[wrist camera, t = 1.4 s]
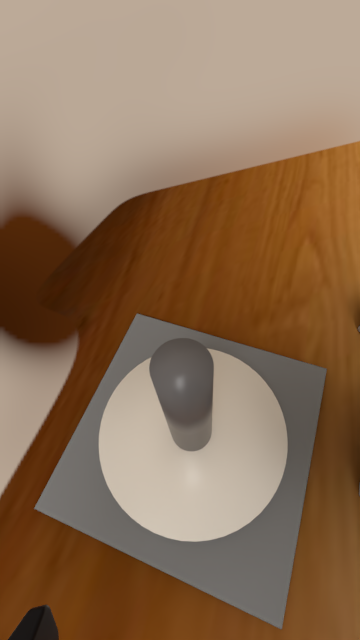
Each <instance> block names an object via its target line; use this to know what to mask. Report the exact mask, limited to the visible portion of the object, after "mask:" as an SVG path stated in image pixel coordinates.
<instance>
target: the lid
mask: <svg viewBox="0 0 360 640" xmlns="http://www.w3.org/2000/svg"><path fill="white" fill-rule="evenodd" d="M287 452H288V438H287V430H286V424H285V420H284V416H283V413H282V410H281V408H280V405H279V403H278V401H277V399H276V397H275V395H274V393H273V392H272V390H271V389H270V387H269V386H268V385H267V383H266V382H265V381H264V380H263V379H262V378H261V376H260V375H259V374H258V373H257V372H255V371H254V370H253V369H252V368H251V367H250V366H248V365H247V364H245V363H244V362H242V361H241V360H239V359H237V358H235V357H233V356H231V355H229V354H226V353H223V352H221V351H217V350H213V349H208V348H206V347H205V346H204V345H202V344H201V343H199V342H198V341H195V340H193V339H189V338H176V339H172V340H169V341H167V342H165V343H164V344H162V345H161V346H160V347H159V348H158V349H157V350H156V351H155V352H154V354H153V356H152V357H151V358H149V359H147V360H145V361H144V362H142V363H141V364H139V365H138V366H136V367H135V368H134V369H133V370H132V371H130V372H129V373H128V374H127V375H126V376H125V378H124V379H123V380H122V381H121V382H120V383H119V385H118V386H117V387H116V389H115V390H114V392H113V394H112V395H111V397H110V399H109V401H108V403H107V406H106V408H105V410H104V413H103V417H102V420H101V425H100V431H99V458H100V463H101V468H102V472H103V475H104V478H105V480H106V483H107V486H108V487H109V489H110V491H111V493H112V495H113V497H114V498H115V500H116V501H117V502H118V504H119V505H120V506H121V508H122V509H123V510H124V511H125V512H126V513H127V514H128V515H129V516H130V517H131V518H132V519H133V520H135V521H136V522H137V523H139V524H140V525H141V526H143V527H144V528H146V529H148V530H150V531H151V532H153V533H155V534H158V535H161V536H163V537H166V538H170V539H174V540H179V541H192V542H198V541H207V540H213V539H217V538H220V537H224V536H226V535H229V534H231V533H233V532H235V531H238V530H239V529H241V528H242V527H244V526H245V525H247V524H248V523H250V522H251V521H252V520H253V519H254V518H255V517H257V516H258V515H259V514H260V513H261V512H262V511H263V509H264V508H265V507H266V506H267V505H268V503H269V502H270V500H271V499H272V497H273V496H274V494H275V492H276V491H277V488H278V486H279V484H280V482H281V479H282V476H283V473H284V469H285V466H286V459H287Z"/></svg>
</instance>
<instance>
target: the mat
mask: <svg viewBox="0 0 360 640" xmlns="http://www.w3.org/2000/svg"><path fill="white" fill-rule="evenodd" d="M176 338H189V339H193V340H195V341H198V342H199V343H201V344H202V345H204V346H205V347H206V348H208V349H213V350H217V351H221V352H223V353H226V354H229V355H231V356H233V357H235V358H237V359H239V360H241V361H242V362H244V363H245V364H247V365H248V366H250V367H251V368H252V369H253V370H254V371H255V372H257V373H258V374H259V375H260V376H261V378H262V379H263V380H264V381H265V382H266V383H267V385H268V386H269V387H270V389H271V390H272V392H273V393H274V395H275V397H276V399H277V401H278V403H279V405H280V408H281V410H282V413H283V416H284V420H285V424H286V430H287V438H288V452H287V459H286V466H285V469H284V473H283V476H282V479H281V482H280V484H279V486H278V488H277V491H276V492H275V494H274V496H273V497H272V499H271V500H270V502H269V503H268V505H267V506H266V507H265V508H264V509H263V511H262V512H261V513H260V514H259V515H258V516H257V517H255V518H254V519H253V520H252V521H251V522H250V523H248V524H247V525H245V526H244V527H242V528H241V529H239V530H238V531H235V532H233V533H231V534H229V535H226V536H224V537H220V538H217V539H213V540H207V541H198V542H192V541H179V540H174V539H170V538H166V537H163V536H161V535H158V534H155V533H153V532H151V531H150V530H148V529H146V528H144V527H143V526H141V525H140V524H139V523H137V522H136V521H135V520H133V519H132V518H131V517H130V516H129V515H128V514H127V513H126V512H125V511H124V510H123V509H122V508H121V506H120V505H119V504H118V502H117V501H116V500H115V498H114V497H113V495H112V493H111V491H110V489H109V487H108V486H107V483H106V480H105V478H104V475H103V472H102V468H101V463H100V458H99V431H100V425H101V420H102V417H103V413H104V410H105V408H106V406H107V403H108V401H109V399H110V397H111V395H112V394H113V392H114V390H115V389H116V387H117V386H118V385H119V383H120V382H121V381H122V380H123V379H124V378H125V376H126V375H127V374H128V373H129V372H130V371H132V370H133V369H134V368H135V367H136V366H138V365H139V364H141V363H142V362H144V361H145V360H147V359H149V358H151V357H152V356H153V354H154V352H155V351H156V350H157V349H158V348H159V347H160V346H161V345H162V344H164V343H165V342H167V341H169V340H172V339H176ZM326 371H327V369H326V368H322V367H319V366H315V365H312V364H308V363H305V362H302V361H298V360H295V359H291V358H288V357H284V356H281V355H277V354H274V353H271V352H267V351H264V350H260V349H257V348H253V347H250V346H247V345H243V344H240V343H236V342H233V341H229V340H226V339H223V338H219V337H216V336H212V335H209V334H205V333H202V332H199V331H195V330H192V329H188V328H185V327H181V326H178V325H175V324H171V323H168V322H164V321H161V320H157V319H154V318H151V317H147V316H144V315H140V314H137V315H136V316H135V318H134V320H133V322H132V324H131V326H130V328H129V330H128V332H127V334H126V335H125V337H124V339H123V341H122V343H121V345H120V347H119V349H118V351H117V352H116V354H115V356H114V358H113V360H112V362H111V364H110V366H109V368H108V370H107V371H106V373H105V375H104V377H103V379H102V381H101V383H100V385H99V387H98V388H97V390H96V392H95V394H94V396H93V398H92V400H91V402H90V404H89V406H88V407H87V409H86V411H85V413H84V415H83V417H82V419H81V421H80V423H79V425H78V426H77V428H76V430H75V432H74V434H73V436H72V438H71V440H70V442H69V443H68V445H67V447H66V449H65V451H64V453H63V455H62V457H61V459H60V461H59V462H58V464H57V466H56V468H55V470H54V472H53V474H52V476H51V478H50V479H49V481H48V483H47V485H46V487H45V489H44V491H43V493H42V495H41V497H40V498H39V500H38V502H37V504H36V506H35V508H34V509H36V510H38V511H40V512H42V513H44V514H46V515H48V516H50V517H52V518H54V519H57V520H59V521H61V522H63V523H65V524H67V525H69V526H71V527H73V528H75V529H77V530H79V531H81V532H83V533H85V534H87V535H89V536H91V537H93V538H95V539H97V540H99V541H102V542H104V543H106V544H108V545H110V546H112V547H114V548H116V549H118V550H120V551H122V552H124V553H126V554H128V555H130V556H132V557H134V558H136V559H138V560H140V561H142V562H145V563H147V564H149V565H151V566H153V567H155V568H157V569H159V570H161V571H163V572H165V573H167V574H169V575H171V576H173V577H175V578H177V579H179V580H181V581H183V582H185V583H187V584H190V585H192V586H194V587H196V588H198V589H200V590H202V591H204V592H206V593H208V594H210V595H212V596H214V597H216V598H218V599H220V600H222V601H224V602H226V603H228V604H230V605H233V606H235V607H237V608H239V609H241V610H243V611H245V612H247V613H249V614H251V615H253V616H255V617H257V618H259V619H261V620H263V621H265V622H267V623H269V624H271V625H273V626H275V627H278V628H280V629H282V625H283V619H284V613H285V608H286V602H287V596H288V590H289V584H290V579H291V573H292V567H293V561H294V556H295V550H296V544H297V538H298V533H299V527H300V521H301V515H302V509H303V504H304V498H305V492H306V486H307V481H308V475H309V469H310V463H311V457H312V452H313V446H314V440H315V434H316V429H317V423H318V417H319V411H320V405H321V400H322V394H323V388H324V382H325V377H326Z"/></svg>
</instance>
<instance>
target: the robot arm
mask: <svg viewBox="0 0 360 640" xmlns="http://www.w3.org/2000/svg"><path fill="white" fill-rule="evenodd" d="M8 640H59V636H58V629H57V626H56V623H55V621H54V618H53V615H52V612H51V609H50V607H49V606H48V605H42V606H38V607H35V608H32V609H30V610H29V611H28V612H27V614H26V615H25V616H24V618H23V619H22V621H21V622H20V623H19V625H18V626H17V628H16V629H15V630H14V632H13V633H12V635H11V636H10V637H9V639H8Z"/></svg>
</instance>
